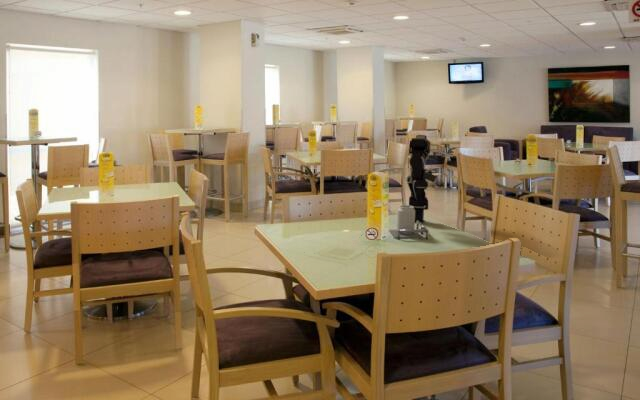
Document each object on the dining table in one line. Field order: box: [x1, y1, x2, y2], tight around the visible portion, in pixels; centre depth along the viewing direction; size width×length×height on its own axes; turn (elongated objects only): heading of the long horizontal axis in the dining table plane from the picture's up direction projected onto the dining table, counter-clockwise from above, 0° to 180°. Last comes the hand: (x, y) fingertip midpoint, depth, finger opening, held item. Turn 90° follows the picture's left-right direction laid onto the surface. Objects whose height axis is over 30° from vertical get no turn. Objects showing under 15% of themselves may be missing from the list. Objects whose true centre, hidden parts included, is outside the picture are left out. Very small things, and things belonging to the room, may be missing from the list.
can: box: [396, 204, 416, 235], centre depth 241 cm, size 8×8×12 cm
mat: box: [388, 229, 423, 239], centre depth 242 cm, size 14×12×1 cm
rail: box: [396, 220, 429, 240], centre depth 243 cm, size 20×13×4 cm, turn 2°
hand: (416, 200), depth 253 cm, fingers open, 9 cm apart
